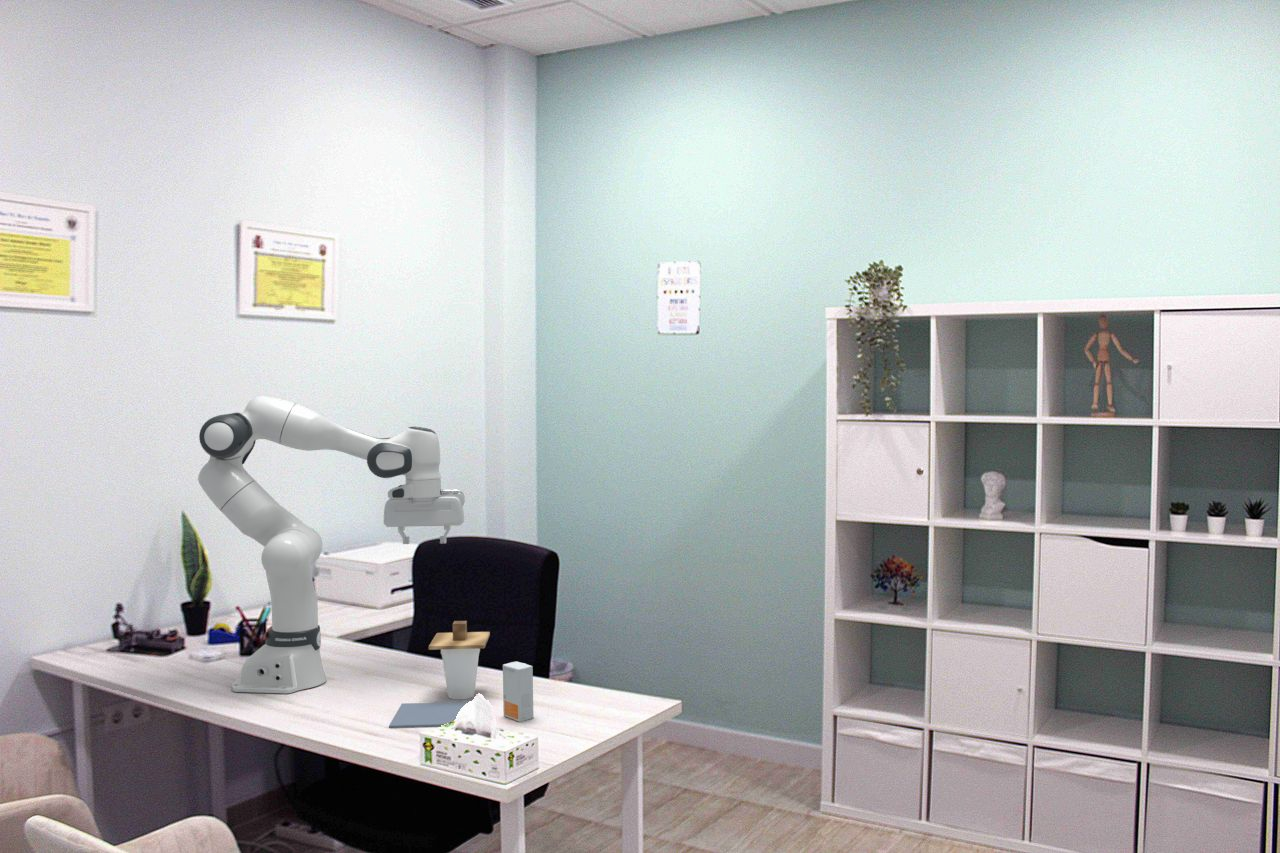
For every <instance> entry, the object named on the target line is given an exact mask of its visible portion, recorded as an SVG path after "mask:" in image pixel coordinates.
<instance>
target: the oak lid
mask: <svg viewBox="0 0 1280 853" xmlns="http://www.w3.org/2000/svg"><path fill="white" fill-rule="evenodd" d="M490 636H491V632H490V631H469V632H468V621H467V620H454V621H453V623H452V632H437V633H436V634H435V635H434V637H433V639H432V640H431V642H430V644H429V645H428V650H430V651H431V650H432V651H433V650H441V649H480V650H481V649H485V648H486V646H487V643H488V640H489V638H490Z"/></svg>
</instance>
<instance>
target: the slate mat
mask: <svg viewBox="0 0 1280 853" xmlns="http://www.w3.org/2000/svg"><path fill="white" fill-rule="evenodd" d="M468 702H469V701H454V702H453V701H450V702H446V701H445V702H443V701H442V702H412V703H411V702H408V703H407V702H404V703H401V704H400V706H399V707H398V710H397V711H396V713H395V715H394V716H393V717H392V720H391V722H390V723H389V725H388V728H389V729H395V728H396V729H398V728H399V729H400V728H401V729H402V728H405V729H407V728H434V727H435V728H438V727H439V726H441V725H444V724H447V723H450V722H453V721H454V720H455V719H456V716H457V714H458V712H459V711H460V709H461V708H462V707H463V706H464V705H465V704H466V703H468Z"/></svg>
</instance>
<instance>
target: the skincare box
mask: <svg viewBox="0 0 1280 853" xmlns="http://www.w3.org/2000/svg"><path fill="white" fill-rule="evenodd" d="M533 670H534V669H533V665H530V664H527V663H524V662H520V661H511V662H508V663H504V664H502V695H503V696H502V701H503V704H502V705H503V706H502V708H503V711H502V712H503V717H506V718H509V719H511V720H514V721H517V722H519V723H521V722H525V721H527V720H531V719H534V676H533V674H534V673H533Z"/></svg>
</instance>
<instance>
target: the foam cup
mask: <svg viewBox="0 0 1280 853" xmlns="http://www.w3.org/2000/svg"><path fill="white" fill-rule="evenodd" d="M480 652H481V649H440V655H441V658H442V664H443V672H444V678H445V684H446V691H447V697H448V698H450V699H452V700H467V699H470V698H473V697H474V696H475V692H476V687H477V686H476V685H477V675H478V667H479V666H478V665H479V656H480Z"/></svg>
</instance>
